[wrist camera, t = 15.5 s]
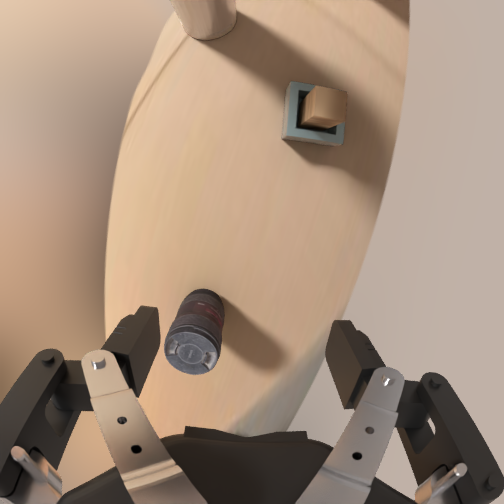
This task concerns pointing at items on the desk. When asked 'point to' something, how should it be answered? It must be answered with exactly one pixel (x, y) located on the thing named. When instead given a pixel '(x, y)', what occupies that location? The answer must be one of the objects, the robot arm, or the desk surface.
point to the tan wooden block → (322, 108)
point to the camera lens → (196, 333)
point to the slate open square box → (292, 132)
